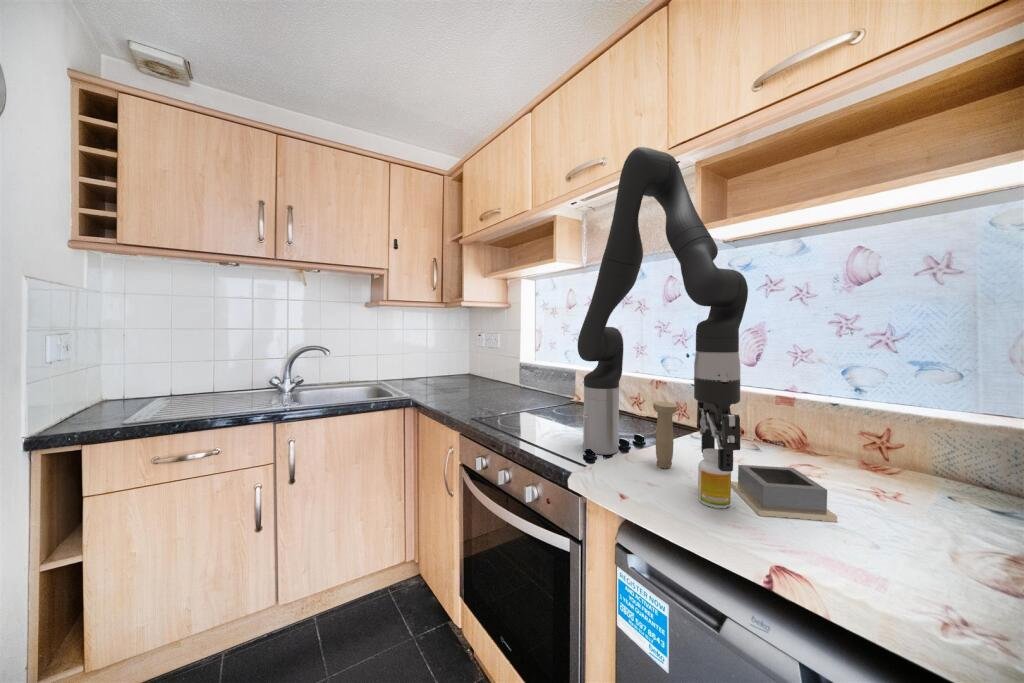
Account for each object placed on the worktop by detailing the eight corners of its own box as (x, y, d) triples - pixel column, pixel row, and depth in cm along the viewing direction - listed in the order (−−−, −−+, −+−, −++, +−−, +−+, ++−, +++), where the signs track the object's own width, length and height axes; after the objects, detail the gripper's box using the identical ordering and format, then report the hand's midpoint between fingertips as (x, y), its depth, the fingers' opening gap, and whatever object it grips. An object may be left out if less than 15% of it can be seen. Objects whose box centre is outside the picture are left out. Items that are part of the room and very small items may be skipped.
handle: (670, 461, 89) (671, 401, 89) (679, 472, 83) (680, 407, 82) (649, 461, 90) (650, 401, 89) (657, 471, 83) (658, 406, 83)
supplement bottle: (736, 510, 66) (737, 457, 65) (705, 508, 66) (706, 456, 66) (721, 496, 71) (722, 447, 71) (693, 495, 72) (694, 446, 71)
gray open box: (759, 515, 64) (760, 487, 63) (730, 486, 75) (730, 462, 75) (837, 521, 62) (838, 493, 61) (794, 490, 73) (795, 466, 73)
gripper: (683, 371, 75) (683, 449, 76) (708, 380, 61) (708, 475, 62) (723, 372, 74) (722, 450, 74) (757, 381, 60) (757, 478, 60)
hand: (716, 462), depth 68 cm, fingers open, 8 cm apart
